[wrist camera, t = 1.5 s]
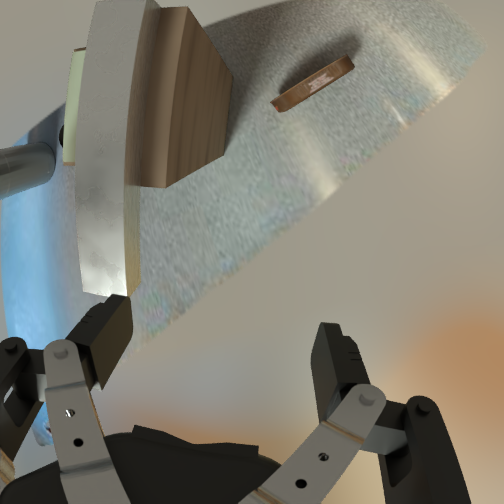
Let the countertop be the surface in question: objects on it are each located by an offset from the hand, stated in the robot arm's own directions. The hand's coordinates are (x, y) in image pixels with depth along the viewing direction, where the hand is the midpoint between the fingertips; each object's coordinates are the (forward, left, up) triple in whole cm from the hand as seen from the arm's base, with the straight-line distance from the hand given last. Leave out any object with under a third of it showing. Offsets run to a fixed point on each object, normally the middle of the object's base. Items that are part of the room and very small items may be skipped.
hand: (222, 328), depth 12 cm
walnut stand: (-14, +10, -43) cm, 46 cm away
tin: (+7, +17, -44) cm, 47 cm away
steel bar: (-10, +6, -11) cm, 16 cm away
